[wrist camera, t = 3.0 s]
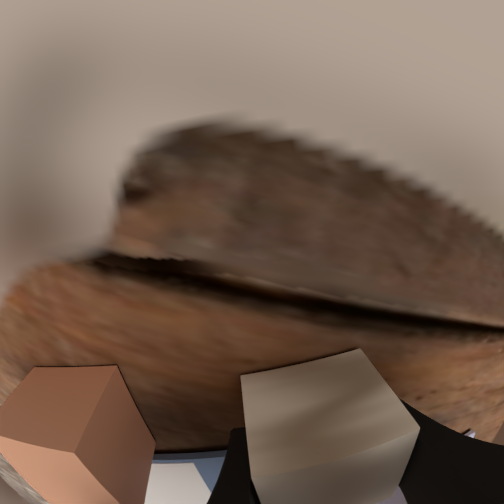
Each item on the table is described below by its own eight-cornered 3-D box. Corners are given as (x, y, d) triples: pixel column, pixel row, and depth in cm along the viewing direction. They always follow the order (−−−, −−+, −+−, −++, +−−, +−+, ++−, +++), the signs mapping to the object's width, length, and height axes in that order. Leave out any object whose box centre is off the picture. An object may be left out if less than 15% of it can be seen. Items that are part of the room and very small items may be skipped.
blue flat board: (241, 448, 11) (242, 455, 10) (260, 501, 12) (261, 507, 12) (59, 445, 10) (56, 451, 10) (107, 500, 12) (106, 505, 11)
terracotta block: (116, 365, 9) (73, 452, 5) (156, 442, 11) (141, 522, 6) (33, 367, 9) (-17, 430, 5) (77, 438, 10) (49, 503, 6)
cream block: (360, 348, 10) (420, 427, 6) (355, 424, 11) (392, 496, 7) (240, 375, 10) (251, 477, 5) (259, 448, 11) (272, 530, 7)
